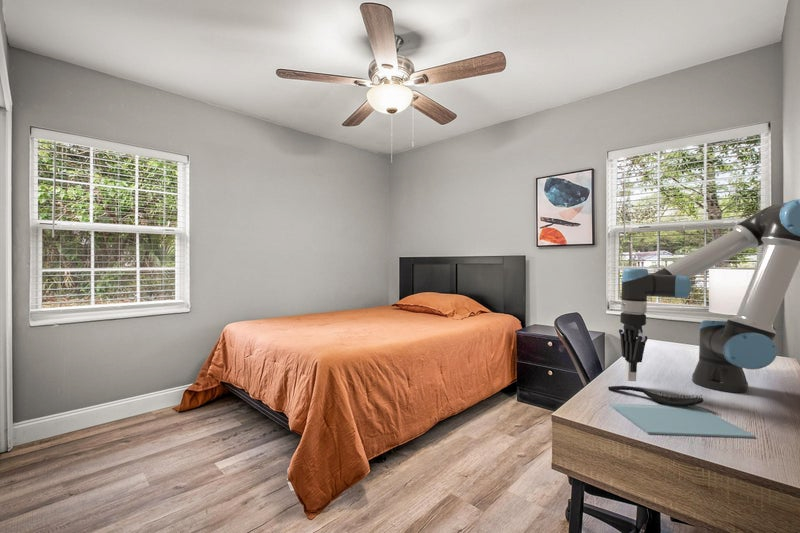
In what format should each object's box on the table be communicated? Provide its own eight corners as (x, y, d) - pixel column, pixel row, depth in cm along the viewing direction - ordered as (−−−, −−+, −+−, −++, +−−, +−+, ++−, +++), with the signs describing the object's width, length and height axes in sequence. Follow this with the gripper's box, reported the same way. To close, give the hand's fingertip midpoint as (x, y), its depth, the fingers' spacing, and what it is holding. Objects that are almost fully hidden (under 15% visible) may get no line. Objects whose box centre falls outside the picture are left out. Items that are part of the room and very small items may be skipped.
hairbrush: (611, 378, 129) (704, 393, 112) (611, 389, 129) (705, 405, 112) (604, 382, 123) (702, 398, 106) (605, 394, 123) (702, 411, 106)
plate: (694, 407, 112) (694, 404, 112) (755, 439, 92) (755, 435, 92) (606, 404, 113) (606, 401, 113) (647, 435, 93) (647, 431, 93)
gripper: (612, 309, 136) (609, 374, 136) (633, 315, 123) (630, 386, 123) (633, 310, 135) (630, 375, 136) (656, 315, 122) (654, 387, 123)
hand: (630, 380), depth 129 cm, fingers closed
